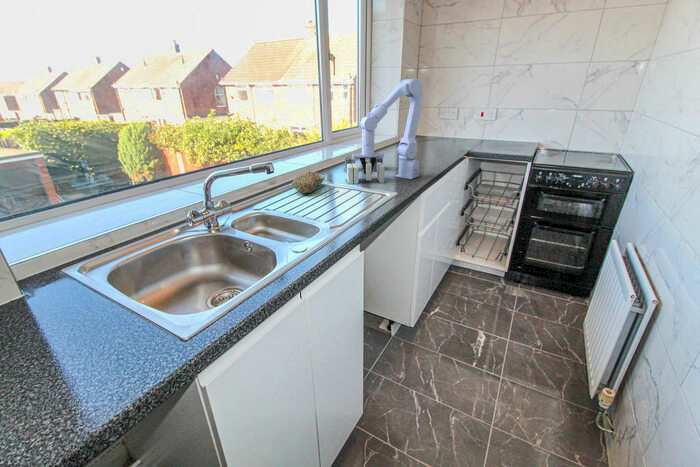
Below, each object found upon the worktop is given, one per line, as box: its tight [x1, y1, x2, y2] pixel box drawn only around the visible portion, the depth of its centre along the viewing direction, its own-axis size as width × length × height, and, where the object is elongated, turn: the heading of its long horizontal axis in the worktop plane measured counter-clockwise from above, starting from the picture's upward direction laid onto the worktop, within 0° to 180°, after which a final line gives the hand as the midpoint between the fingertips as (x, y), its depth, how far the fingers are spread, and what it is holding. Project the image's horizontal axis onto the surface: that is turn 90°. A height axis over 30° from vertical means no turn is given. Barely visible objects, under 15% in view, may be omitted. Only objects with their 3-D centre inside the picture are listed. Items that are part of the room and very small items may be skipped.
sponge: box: [292, 171, 325, 194], centre depth 143 cm, size 13×8×20 cm
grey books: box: [344, 155, 384, 173], centre depth 177 cm, size 19×9×6 cm, turn 94°
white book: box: [363, 159, 372, 181], centre depth 155 cm, size 2×9×8 cm, turn 4°
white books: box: [346, 162, 385, 185], centre depth 156 cm, size 17×9×8 cm, turn 94°
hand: (367, 173), depth 156 cm, fingers closed on white book, 2 cm apart
